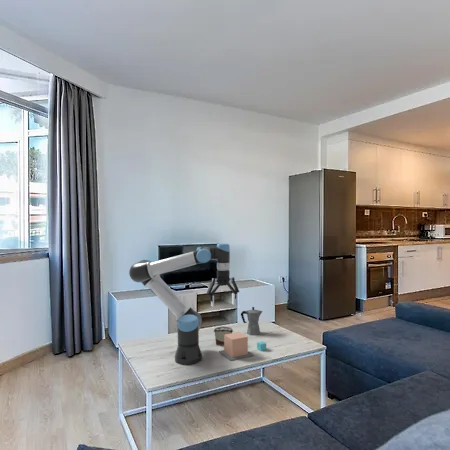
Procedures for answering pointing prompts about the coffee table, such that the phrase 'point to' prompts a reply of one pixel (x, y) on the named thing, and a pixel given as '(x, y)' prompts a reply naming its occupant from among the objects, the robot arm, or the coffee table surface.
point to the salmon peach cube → (235, 344)
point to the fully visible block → (261, 346)
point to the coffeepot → (252, 321)
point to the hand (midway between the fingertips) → (223, 305)
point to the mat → (235, 357)
